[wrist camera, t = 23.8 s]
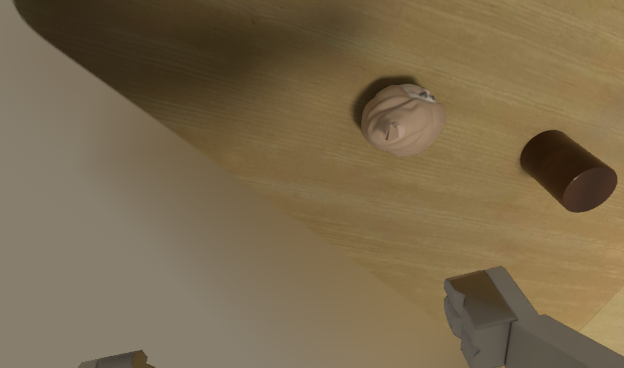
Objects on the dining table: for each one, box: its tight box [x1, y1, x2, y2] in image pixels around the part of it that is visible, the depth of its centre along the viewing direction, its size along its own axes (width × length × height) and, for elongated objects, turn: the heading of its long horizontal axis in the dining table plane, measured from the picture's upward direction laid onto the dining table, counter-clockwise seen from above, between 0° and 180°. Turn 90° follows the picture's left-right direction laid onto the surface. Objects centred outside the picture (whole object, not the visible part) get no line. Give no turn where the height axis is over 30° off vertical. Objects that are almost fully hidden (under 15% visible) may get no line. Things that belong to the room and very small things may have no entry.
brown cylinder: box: [521, 131, 617, 213], centre depth 41 cm, size 5×5×7 cm
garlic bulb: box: [361, 84, 446, 157], centre depth 35 cm, size 7×6×8 cm
